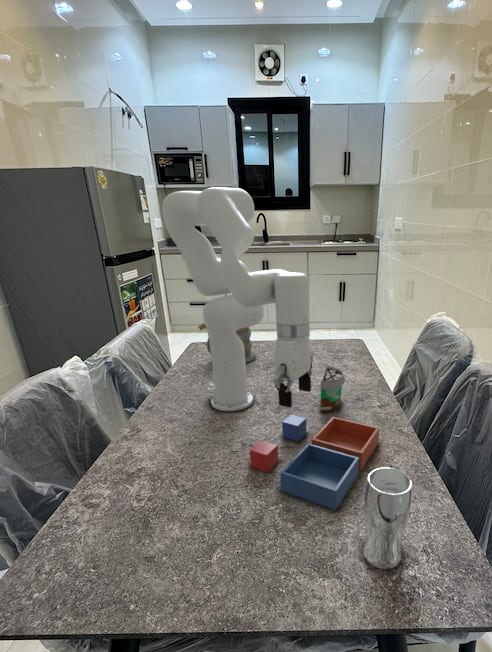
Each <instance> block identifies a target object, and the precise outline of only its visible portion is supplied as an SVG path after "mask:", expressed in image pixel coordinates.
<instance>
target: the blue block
mask: <svg viewBox="0 0 492 652" xmlns="http://www.w3.org/2000/svg"><path fill="white" fill-rule="evenodd" d="M281 424H282V425H281V426H282V427H281V428H282V429H281V430H282V438H284V439H288V440H290V441H294V442H299V441H301V439H303V438H304V436H306V435H307V418H306V417H302V416H299V415H295V414H290V415H288V416H287V417H286V418H285V419H284V420H283V421H282V422H281Z"/></svg>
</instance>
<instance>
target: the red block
mask: <svg viewBox="0 0 492 652" xmlns="http://www.w3.org/2000/svg"><path fill="white" fill-rule="evenodd" d="M278 448H279V447H278V444H276V443H272V442H268V441H265V440H260V441H258V442H257V443H256V444H254V446H253V447H251V448H250V449H249V458H250V467H251V468H254V469H257V470H260V471H263V472H265V473H269V472H270V471H271V470H272V469H273V467H275V466H276V465H277V464H278V463H279V449H278Z"/></svg>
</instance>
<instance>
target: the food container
mask: <svg viewBox="0 0 492 652" xmlns="http://www.w3.org/2000/svg"><path fill="white" fill-rule="evenodd" d="M345 381H346V379H345V374H344V373H343V371H342V370H341V369H339V368H336V367H333V366H325V372H324V375H323V378H322V380H320V412H321V413H330V412H334V411H336V410H339V408H340V407H341V400H342V389H343V385H344V384H345V383H346V382H345Z"/></svg>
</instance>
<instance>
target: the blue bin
mask: <svg viewBox="0 0 492 652" xmlns="http://www.w3.org/2000/svg"><path fill="white" fill-rule="evenodd" d="M358 468H359V458H358V457H355V456H351V455H348V454H344V453H341V452H337V451H334V450H330V449H327V448H323V447H319V446H316V445H312V443H306V445H304V447H303V448H302V449H301V450H300V451H299V452H298V453H297V454H296V455H295V457H293V458H292V460H291V461H290V462H288V464H287V465H286V466H285V467H284V468H283V469H282V470H281V471H280V472H279V474H280V475H279V476H280V477H279V479H280V491H281V492H283V493H286V494H290V495H292V496H295V497H297V498H300V499H303V500H306V501H308V502H311V503H315V504H317V505H320V506H323V507H326V508H329V509H331V510H334V511H336V510H337V509H338V507H339V505H340V504H341V503H342V501H343V499H344V498H345V496H346V495H347V493H348V492H349V490H350V488H351V487H352V485H353V484H354V482H355V481H356V479H357V478H358V476H359V470H358Z"/></svg>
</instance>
